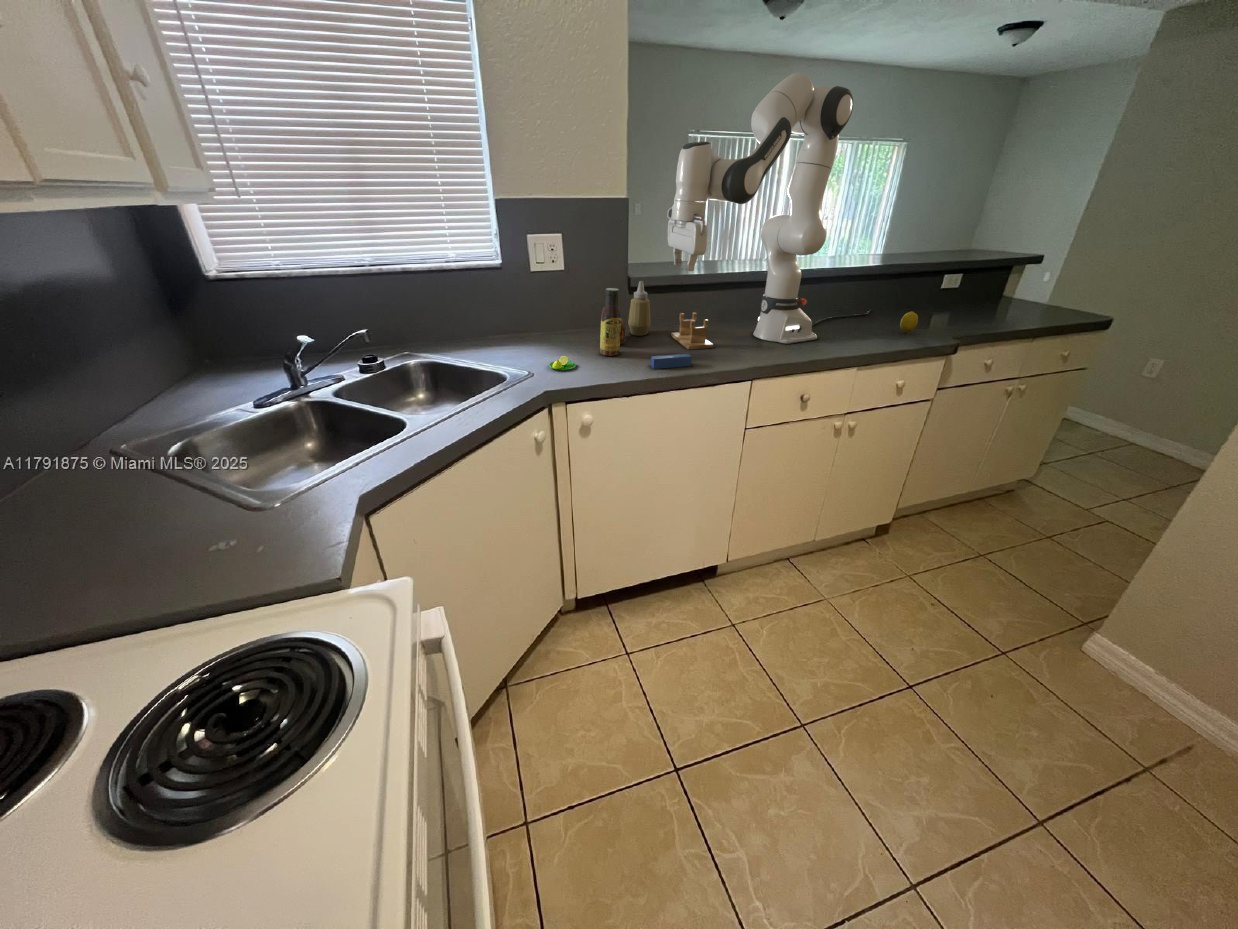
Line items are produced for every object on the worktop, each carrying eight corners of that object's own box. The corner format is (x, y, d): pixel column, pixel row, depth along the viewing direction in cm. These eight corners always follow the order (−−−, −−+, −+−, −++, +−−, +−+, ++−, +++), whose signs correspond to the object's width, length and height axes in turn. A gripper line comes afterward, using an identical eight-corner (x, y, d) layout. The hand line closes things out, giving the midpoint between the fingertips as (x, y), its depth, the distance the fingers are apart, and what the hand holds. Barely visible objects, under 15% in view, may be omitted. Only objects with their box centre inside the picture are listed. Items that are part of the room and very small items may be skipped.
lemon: (914, 332, 184) (921, 310, 180) (913, 335, 180) (920, 313, 176) (898, 329, 187) (905, 308, 183) (896, 333, 183) (903, 311, 179)
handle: (687, 363, 149) (688, 353, 147) (690, 366, 146) (691, 356, 145) (650, 366, 146) (651, 356, 144) (653, 368, 144) (654, 359, 142)
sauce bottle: (605, 358, 151) (605, 291, 141) (596, 352, 156) (596, 287, 146) (623, 355, 154) (625, 290, 144) (614, 349, 159) (615, 286, 148)
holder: (671, 336, 174) (672, 311, 169) (694, 334, 176) (696, 310, 171) (688, 349, 160) (690, 323, 156) (713, 347, 163) (716, 321, 158)
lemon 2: (555, 361, 148) (555, 352, 146) (579, 364, 146) (579, 355, 144) (544, 369, 141) (543, 360, 140) (569, 373, 139) (569, 363, 138)
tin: (603, 335, 172) (603, 311, 168) (611, 334, 173) (612, 310, 169) (617, 348, 160) (618, 322, 156) (626, 347, 161) (627, 321, 157)
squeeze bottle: (650, 331, 178) (653, 279, 169) (649, 337, 171) (652, 284, 162) (628, 330, 179) (630, 278, 170) (626, 336, 172) (628, 283, 163)
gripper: (716, 216, 123) (708, 274, 130) (686, 211, 140) (680, 262, 146) (693, 215, 121) (687, 274, 128) (665, 210, 138) (661, 262, 145)
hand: (683, 268), depth 137 cm, fingers open, 8 cm apart
